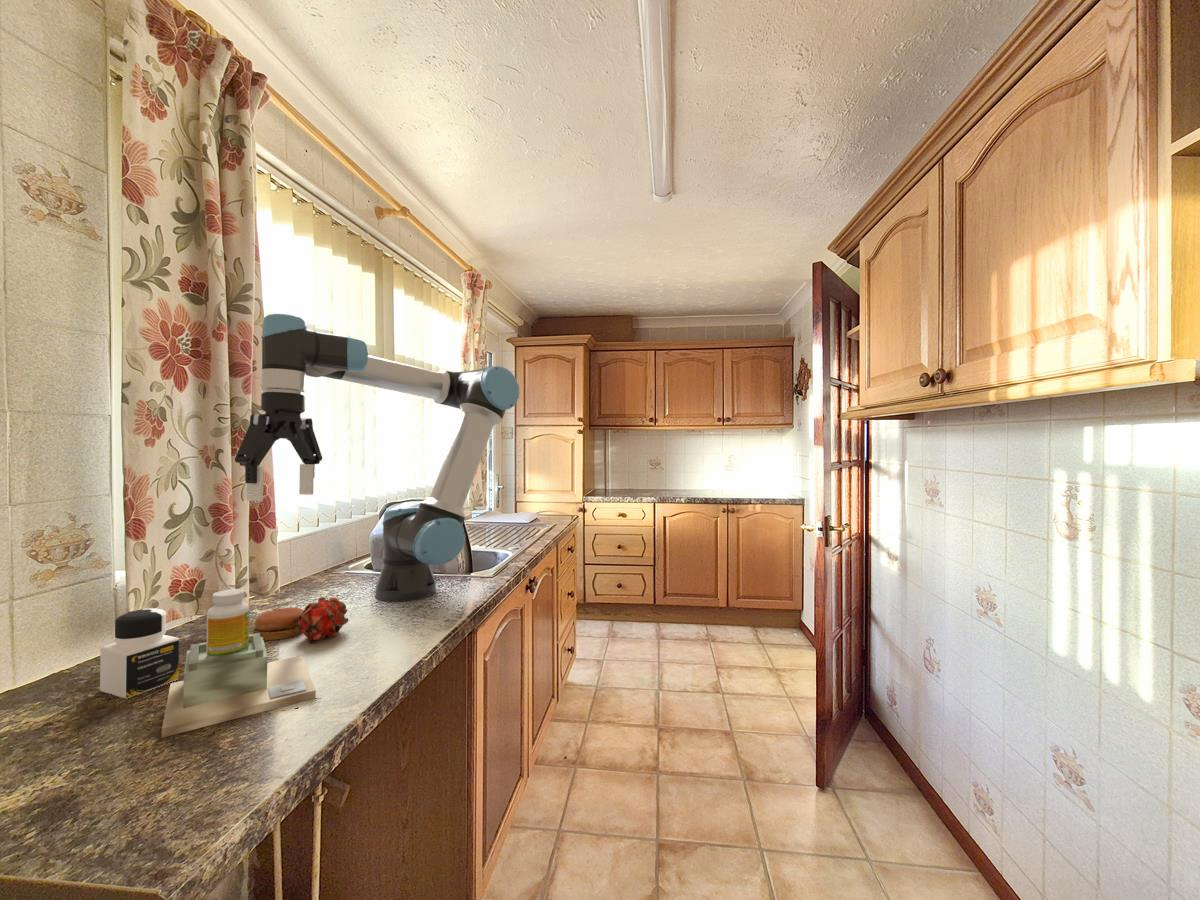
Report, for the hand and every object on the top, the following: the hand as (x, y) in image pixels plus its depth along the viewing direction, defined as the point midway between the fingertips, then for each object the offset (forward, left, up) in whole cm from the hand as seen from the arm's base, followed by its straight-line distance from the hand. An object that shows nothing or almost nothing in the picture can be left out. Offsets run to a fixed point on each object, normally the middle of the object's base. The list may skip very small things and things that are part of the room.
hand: (282, 497), depth 100 cm
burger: (0, -4, -29) cm, 29 cm away
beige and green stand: (+7, +23, -29) cm, 37 cm away
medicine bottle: (+20, +10, -29) cm, 37 cm away
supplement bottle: (+9, +21, -23) cm, 32 cm away
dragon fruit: (-7, +4, -29) cm, 30 cm away
